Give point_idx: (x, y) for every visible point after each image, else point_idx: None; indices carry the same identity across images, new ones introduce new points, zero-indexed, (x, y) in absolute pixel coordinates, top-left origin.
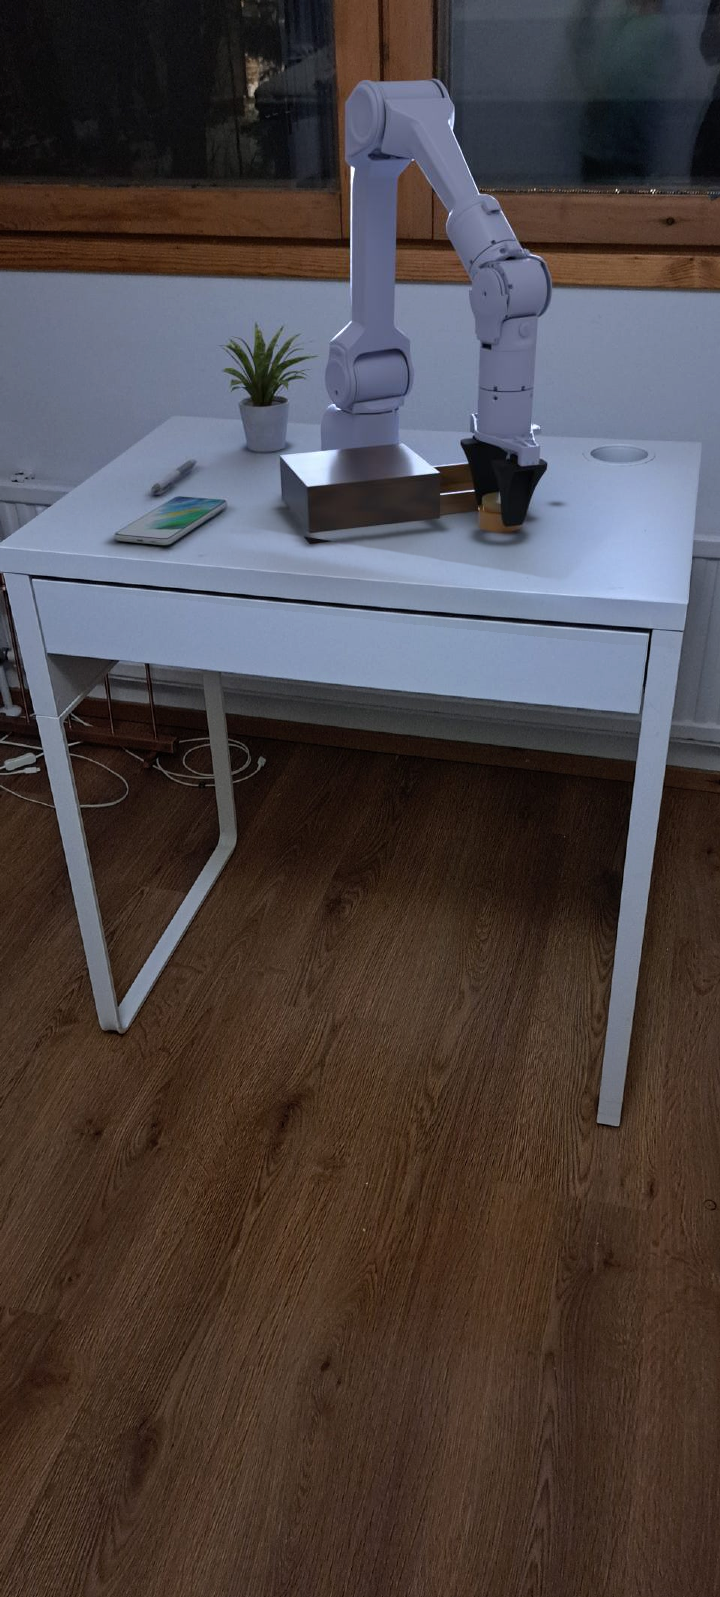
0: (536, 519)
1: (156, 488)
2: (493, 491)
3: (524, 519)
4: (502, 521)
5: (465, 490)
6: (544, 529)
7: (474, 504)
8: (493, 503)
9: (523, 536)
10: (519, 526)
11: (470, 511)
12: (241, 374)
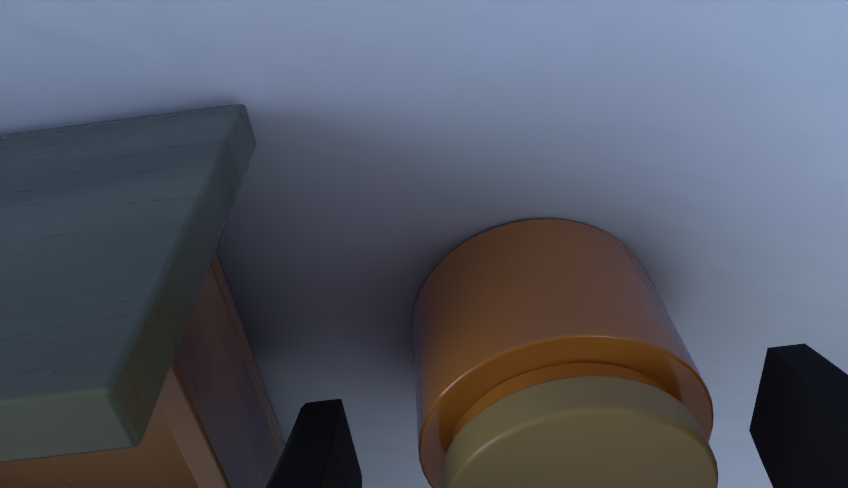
0: (255, 35)
1: None
2: (339, 485)
3: (829, 361)
4: (759, 452)
5: None
6: (487, 42)
7: (265, 461)
8: None
9: (575, 204)
10: (650, 292)
11: (277, 444)
12: None
